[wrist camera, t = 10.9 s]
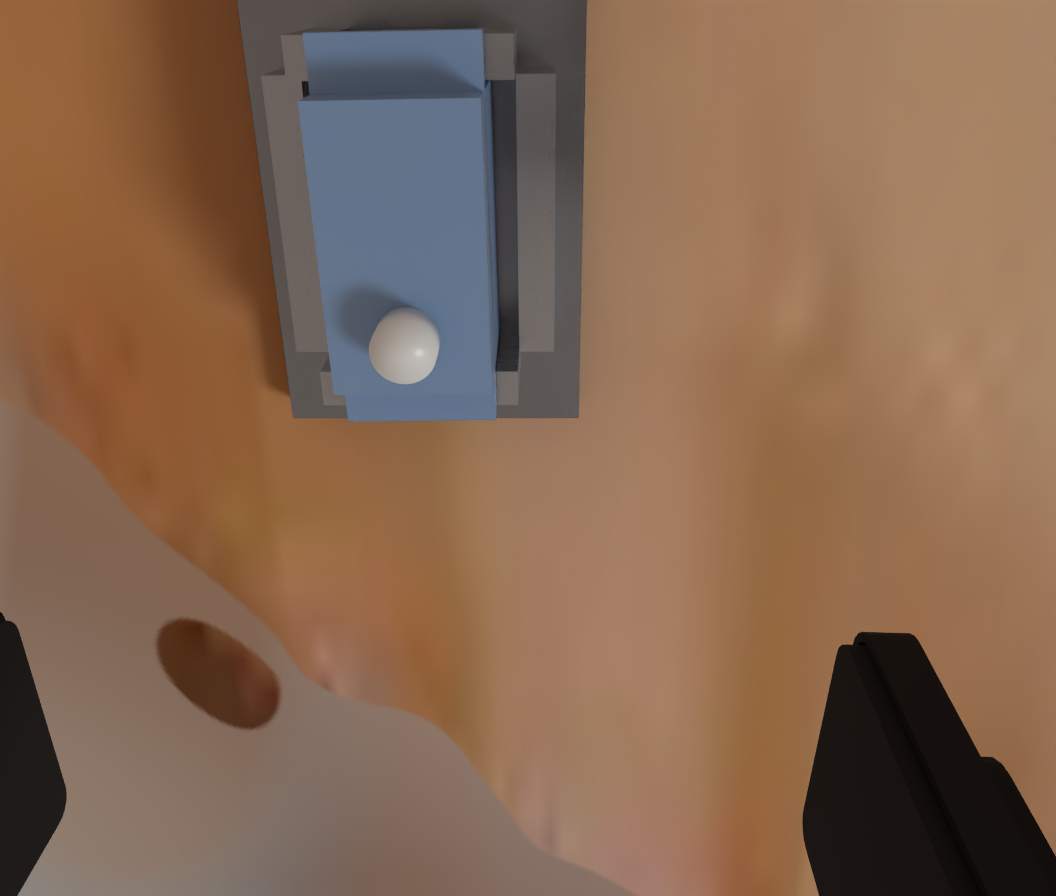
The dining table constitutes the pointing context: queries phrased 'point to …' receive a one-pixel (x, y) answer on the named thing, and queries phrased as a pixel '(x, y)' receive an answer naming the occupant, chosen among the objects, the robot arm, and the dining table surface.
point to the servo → (405, 219)
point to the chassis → (520, 180)
